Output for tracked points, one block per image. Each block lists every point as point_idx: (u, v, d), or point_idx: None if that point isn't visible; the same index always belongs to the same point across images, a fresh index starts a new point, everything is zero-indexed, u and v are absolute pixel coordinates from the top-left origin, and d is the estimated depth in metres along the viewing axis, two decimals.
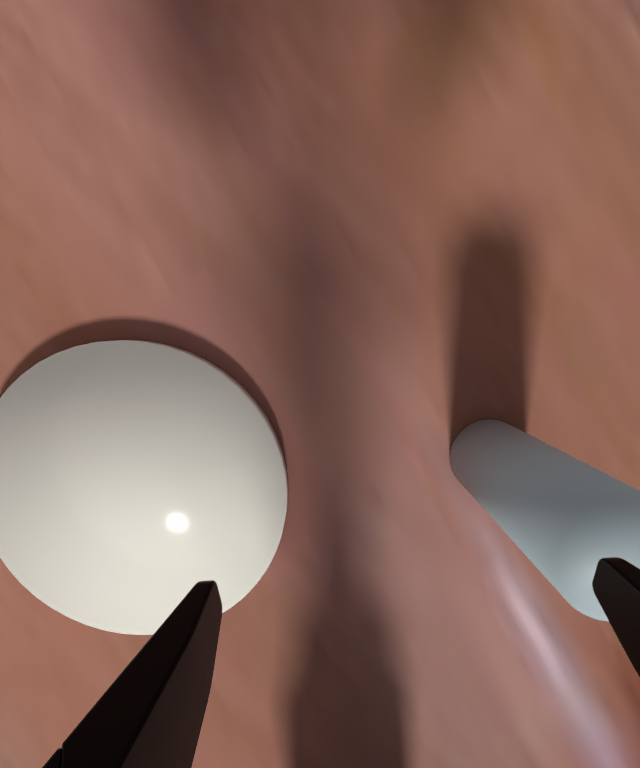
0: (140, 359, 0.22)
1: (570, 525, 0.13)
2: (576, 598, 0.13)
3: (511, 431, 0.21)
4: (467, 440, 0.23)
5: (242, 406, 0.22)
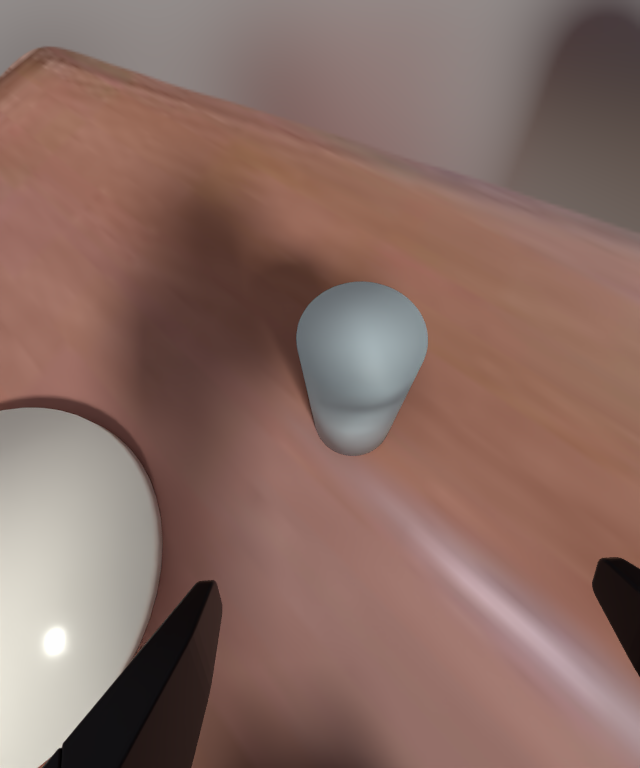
0: (2, 424, 0.24)
1: (299, 322, 0.14)
2: (335, 382, 0.13)
3: None
4: None
5: (98, 437, 0.23)
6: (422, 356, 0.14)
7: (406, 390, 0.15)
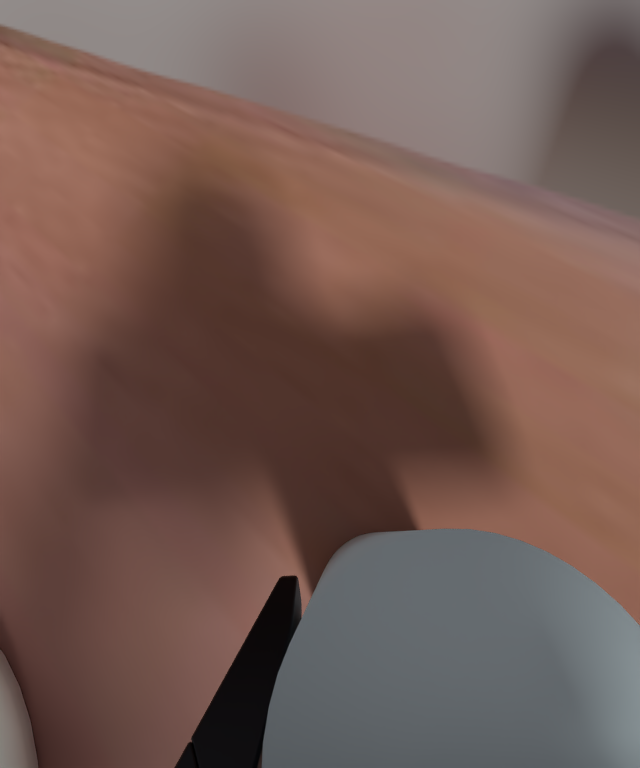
0: None
1: (273, 693, 0.04)
2: None
3: (361, 536, 0.12)
4: None
5: None
6: None
7: None
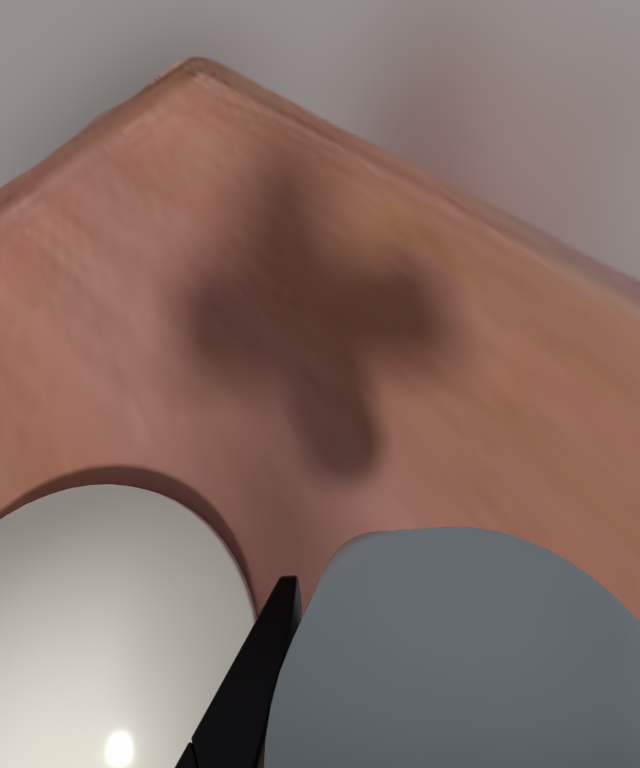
0: (108, 502, 0.22)
1: (275, 691, 0.04)
2: None
3: (362, 535, 0.12)
4: None
5: (208, 545, 0.21)
6: None
7: None
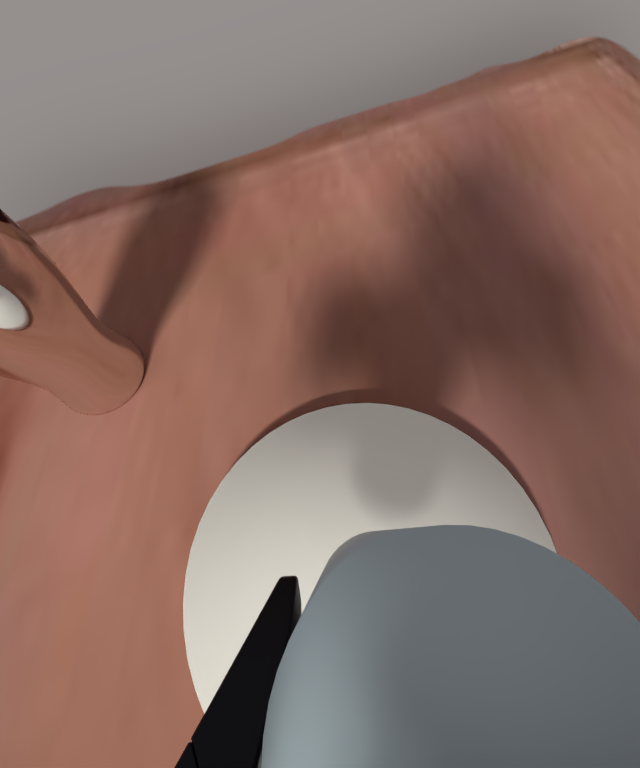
0: (443, 439, 0.22)
1: (273, 688, 0.04)
2: None
3: (361, 534, 0.12)
4: None
5: (537, 532, 0.20)
6: None
7: None
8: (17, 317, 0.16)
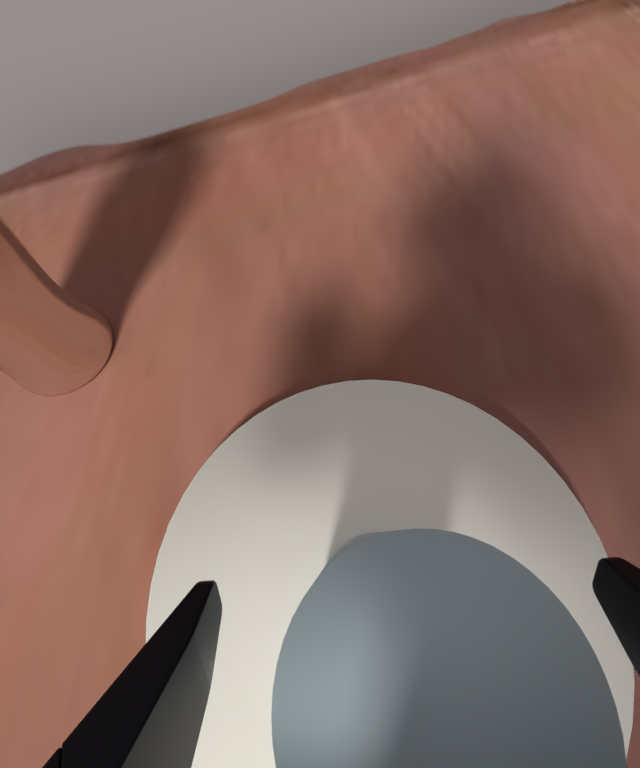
0: (465, 422, 0.18)
1: (280, 654, 0.06)
2: None
3: (359, 536, 0.14)
4: None
5: (584, 534, 0.16)
6: None
7: None
8: None
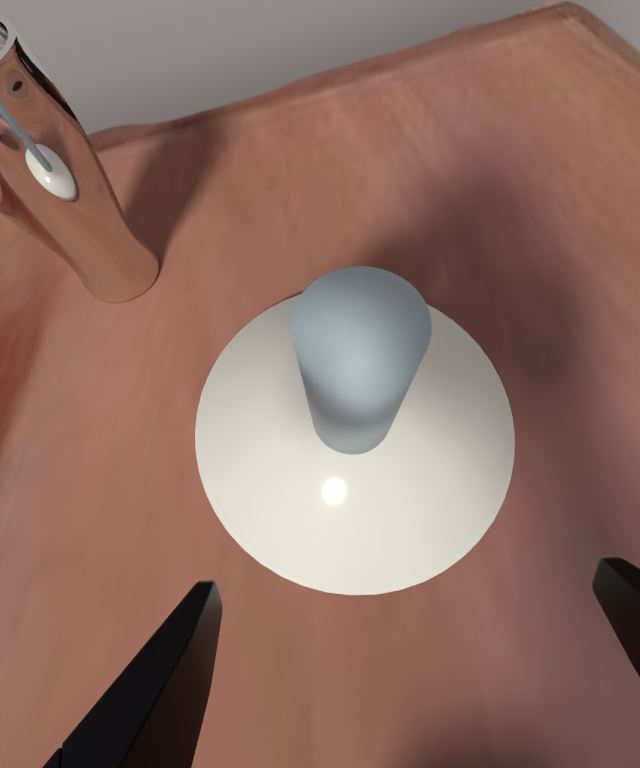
0: None
1: (294, 308, 0.13)
2: (332, 372, 0.12)
3: None
4: None
5: (491, 378, 0.24)
6: (426, 344, 0.13)
7: (408, 382, 0.14)
8: (66, 172, 0.20)
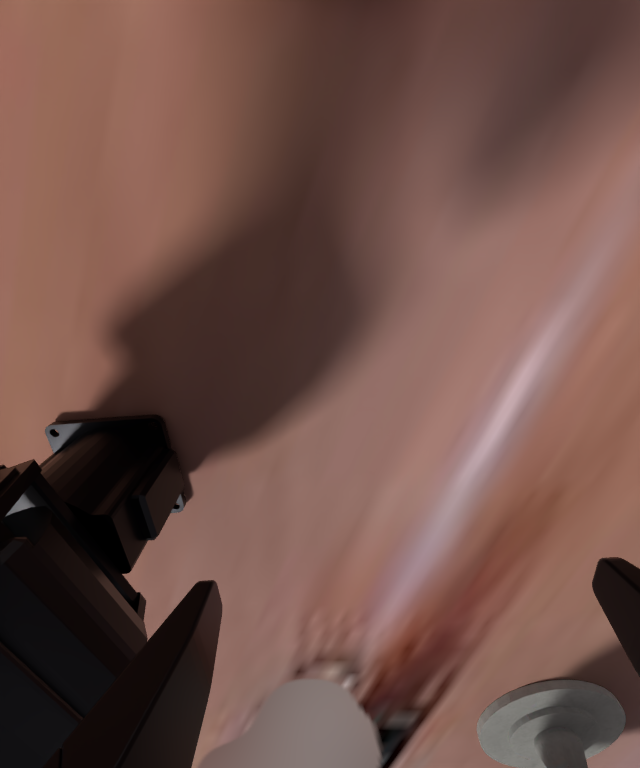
0: None
1: None
2: None
3: None
4: None
5: None
6: None
7: None
8: None
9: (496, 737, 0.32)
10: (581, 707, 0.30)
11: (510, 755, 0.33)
